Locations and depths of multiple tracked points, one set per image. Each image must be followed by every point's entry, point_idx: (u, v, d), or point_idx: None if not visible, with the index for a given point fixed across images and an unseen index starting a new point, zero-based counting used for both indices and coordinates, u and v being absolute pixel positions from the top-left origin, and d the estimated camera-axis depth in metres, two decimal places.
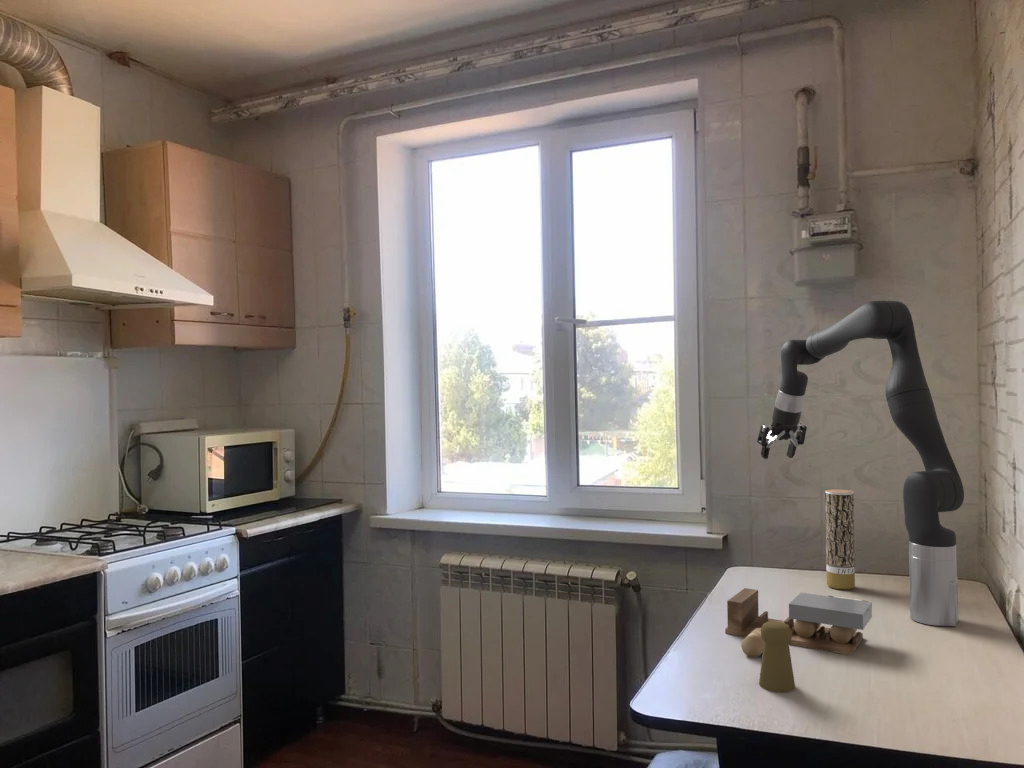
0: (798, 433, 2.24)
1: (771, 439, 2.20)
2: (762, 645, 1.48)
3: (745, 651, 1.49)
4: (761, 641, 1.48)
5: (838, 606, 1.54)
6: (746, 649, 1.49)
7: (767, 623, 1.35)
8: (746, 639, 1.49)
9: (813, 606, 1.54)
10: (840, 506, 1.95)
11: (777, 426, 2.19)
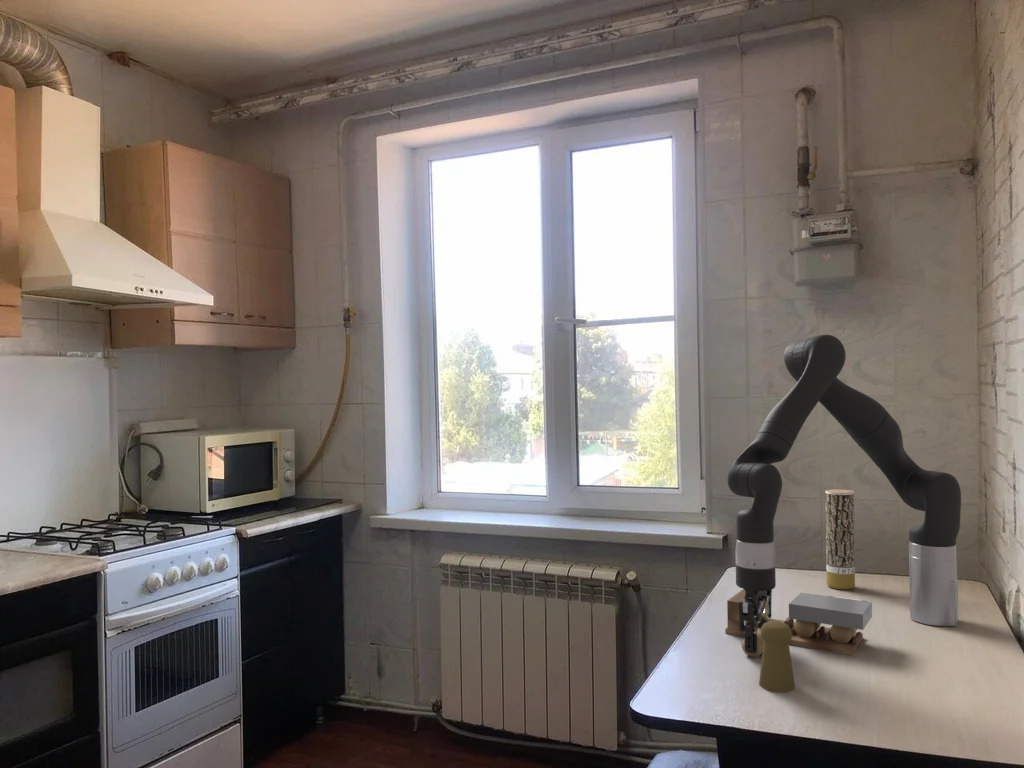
0: None
1: (755, 619, 1.48)
2: (762, 645, 1.48)
3: None
4: (762, 641, 1.48)
5: (838, 606, 1.54)
6: None
7: (767, 623, 1.35)
8: None
9: (813, 606, 1.54)
10: (840, 506, 1.95)
11: (756, 596, 1.48)
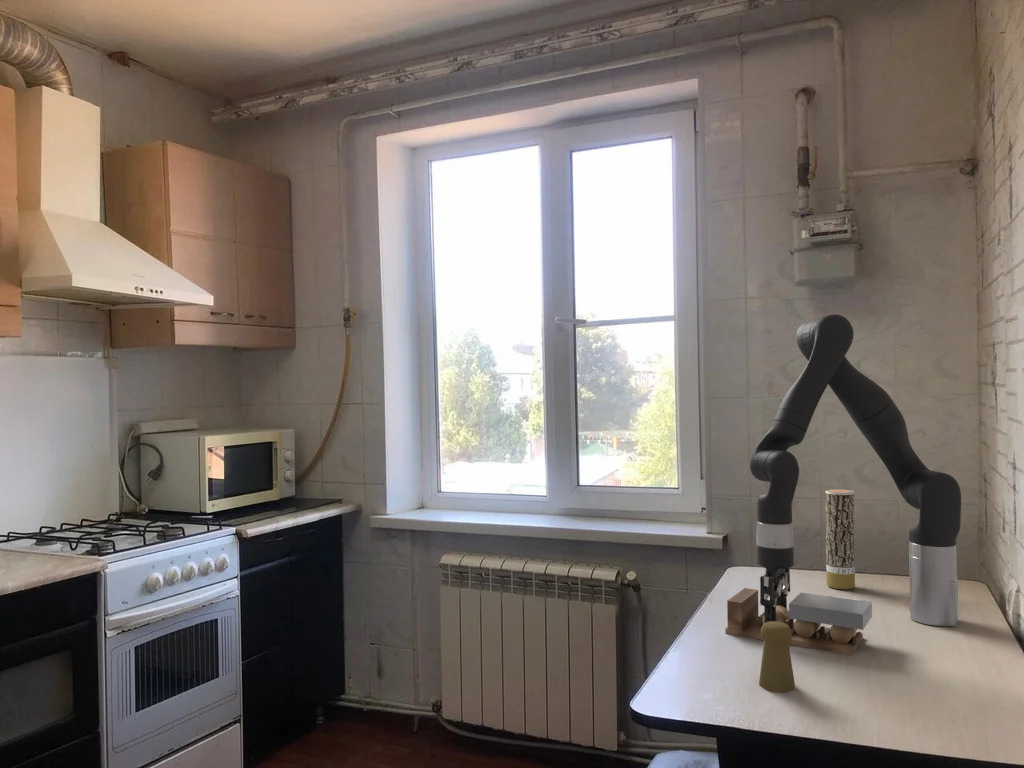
0: None
1: (775, 594, 1.59)
2: (782, 621, 1.59)
3: None
4: (781, 617, 1.60)
5: (838, 606, 1.54)
6: None
7: (767, 623, 1.35)
8: None
9: (813, 606, 1.54)
10: (840, 506, 1.95)
11: (776, 573, 1.59)
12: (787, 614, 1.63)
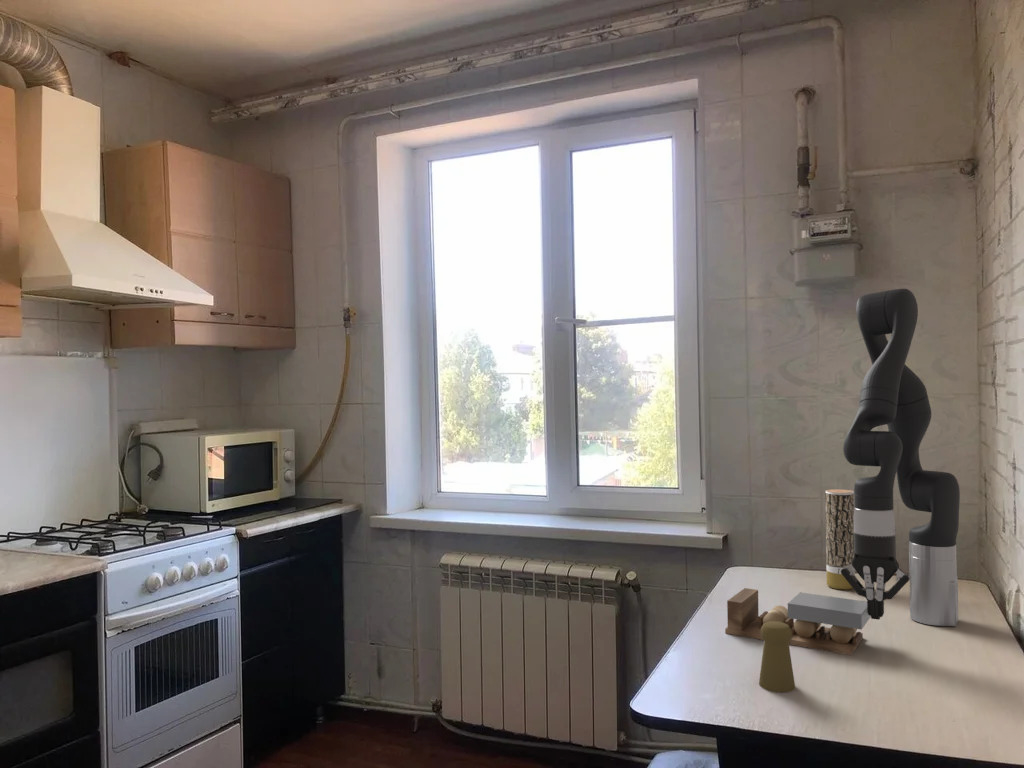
0: (895, 583, 1.50)
1: None
2: (782, 621, 1.59)
3: None
4: (782, 617, 1.60)
5: (836, 606, 1.54)
6: None
7: (767, 623, 1.35)
8: (768, 615, 1.60)
9: (812, 606, 1.54)
10: (840, 506, 1.95)
11: (854, 559, 1.53)
12: None
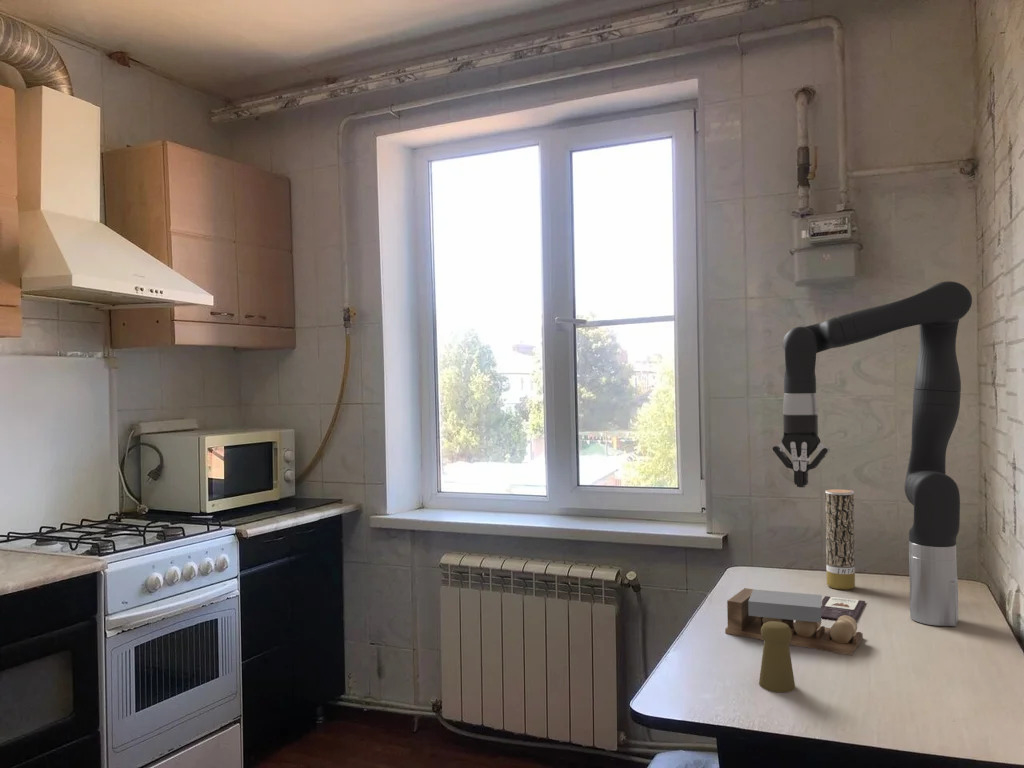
0: None
1: None
2: None
3: None
4: None
5: (794, 601, 1.58)
6: None
7: (767, 623, 1.35)
8: None
9: (772, 602, 1.57)
10: (840, 506, 1.95)
11: (783, 437, 1.79)
12: None
